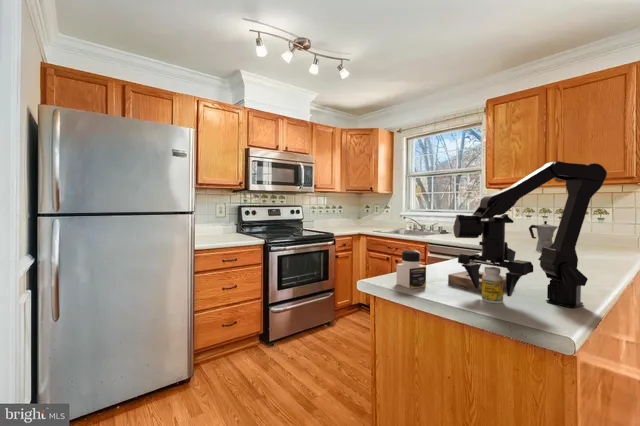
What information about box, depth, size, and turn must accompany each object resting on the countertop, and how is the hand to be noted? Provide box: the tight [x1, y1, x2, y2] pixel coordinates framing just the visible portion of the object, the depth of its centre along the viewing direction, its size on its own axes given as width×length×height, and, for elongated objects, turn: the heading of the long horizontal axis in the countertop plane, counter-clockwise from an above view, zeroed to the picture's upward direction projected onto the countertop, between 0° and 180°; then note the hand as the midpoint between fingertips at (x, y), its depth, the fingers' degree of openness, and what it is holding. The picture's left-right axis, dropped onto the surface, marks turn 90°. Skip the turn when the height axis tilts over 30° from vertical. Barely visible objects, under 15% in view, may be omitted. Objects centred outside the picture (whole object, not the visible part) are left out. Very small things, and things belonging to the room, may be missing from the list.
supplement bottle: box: [481, 266, 504, 304], centre depth 87 cm, size 5×5×10 cm
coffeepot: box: [528, 220, 559, 253], centre depth 181 cm, size 15×9×18 cm, turn 79°
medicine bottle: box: [396, 249, 427, 290], centre depth 104 cm, size 7×7×12 cm
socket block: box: [447, 270, 506, 294], centre depth 103 cm, size 14×14×4 cm
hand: (492, 292), depth 87 cm, fingers open, 9 cm apart
